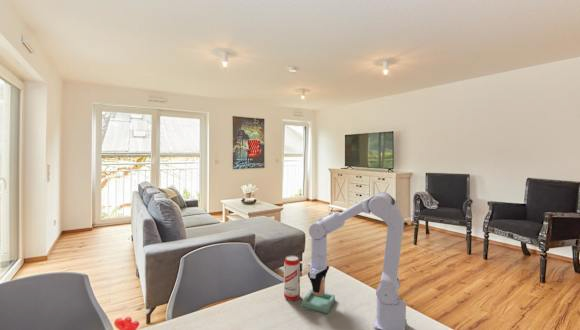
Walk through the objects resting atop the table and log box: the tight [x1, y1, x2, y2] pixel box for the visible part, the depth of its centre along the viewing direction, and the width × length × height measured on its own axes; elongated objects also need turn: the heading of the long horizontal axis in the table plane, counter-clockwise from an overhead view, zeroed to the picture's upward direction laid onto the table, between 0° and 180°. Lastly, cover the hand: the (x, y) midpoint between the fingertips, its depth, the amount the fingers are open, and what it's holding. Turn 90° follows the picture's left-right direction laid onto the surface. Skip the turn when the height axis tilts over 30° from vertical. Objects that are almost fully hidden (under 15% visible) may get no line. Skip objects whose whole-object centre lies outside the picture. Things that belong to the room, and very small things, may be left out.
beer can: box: [283, 254, 301, 302], centre depth 109 cm, size 6×6×16 cm
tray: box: [300, 289, 336, 315], centre depth 105 cm, size 10×10×2 cm
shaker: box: [311, 274, 326, 296], centre depth 105 cm, size 5×5×6 cm
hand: (318, 288), depth 105 cm, fingers closed on shaker, 5 cm apart
